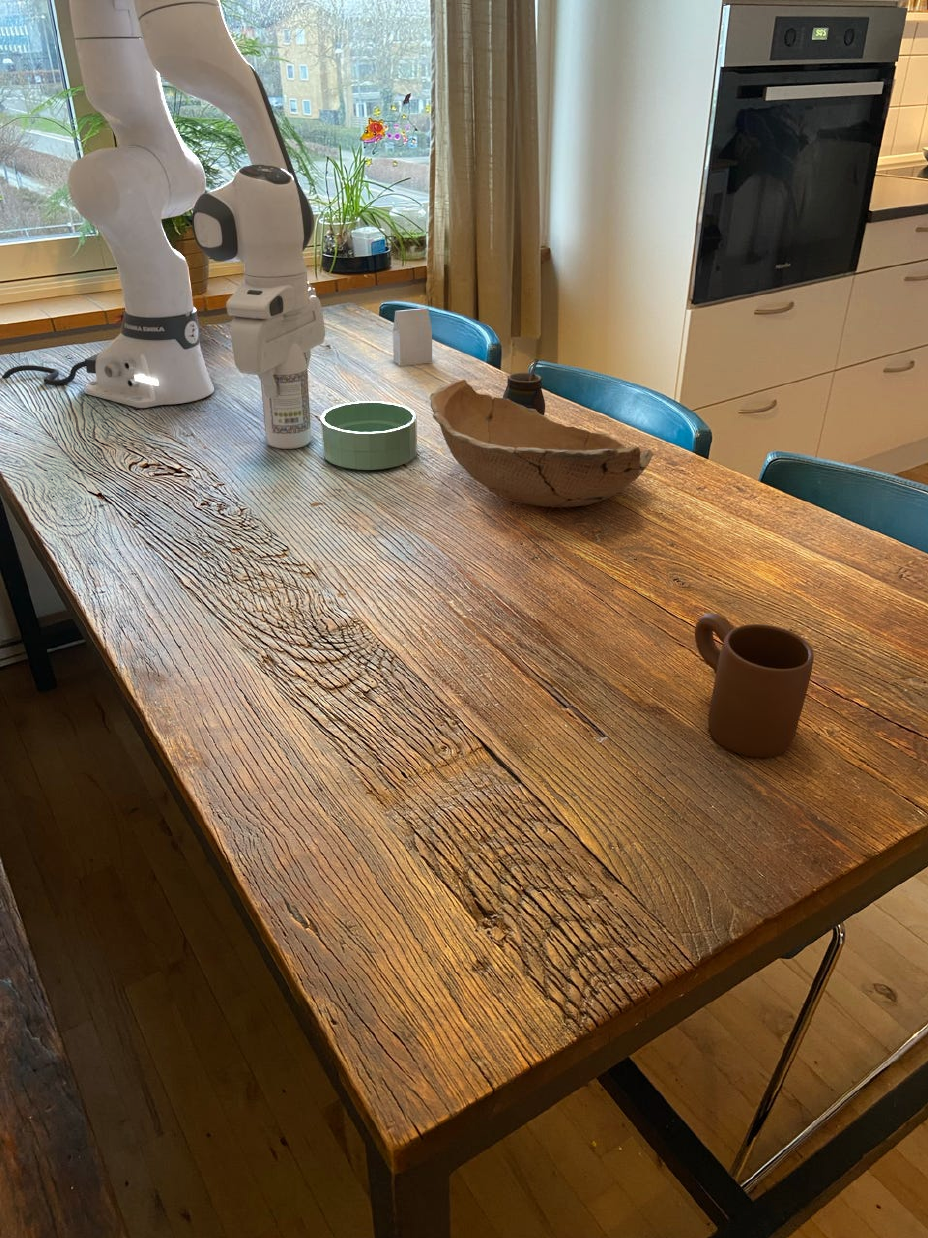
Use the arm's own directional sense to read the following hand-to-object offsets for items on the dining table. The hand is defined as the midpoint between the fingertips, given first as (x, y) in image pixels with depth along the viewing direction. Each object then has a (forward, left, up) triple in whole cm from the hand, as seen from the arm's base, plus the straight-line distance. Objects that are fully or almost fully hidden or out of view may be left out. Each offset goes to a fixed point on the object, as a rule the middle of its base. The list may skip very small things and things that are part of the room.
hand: (287, 388), depth 137 cm
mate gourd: (+30, +22, -9) cm, 39 cm away
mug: (+72, -46, -9) cm, 86 cm away
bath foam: (-1, 0, -9) cm, 9 cm away
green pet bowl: (+13, 0, -9) cm, 16 cm away
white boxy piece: (-1, +48, -9) cm, 49 cm away
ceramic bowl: (+40, -3, -9) cm, 41 cm away
